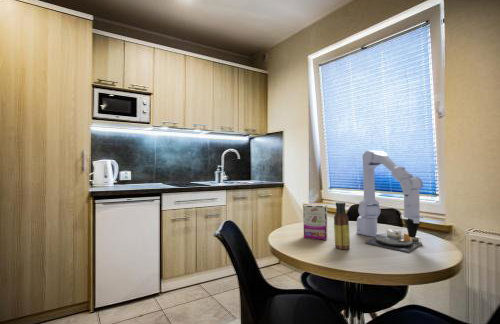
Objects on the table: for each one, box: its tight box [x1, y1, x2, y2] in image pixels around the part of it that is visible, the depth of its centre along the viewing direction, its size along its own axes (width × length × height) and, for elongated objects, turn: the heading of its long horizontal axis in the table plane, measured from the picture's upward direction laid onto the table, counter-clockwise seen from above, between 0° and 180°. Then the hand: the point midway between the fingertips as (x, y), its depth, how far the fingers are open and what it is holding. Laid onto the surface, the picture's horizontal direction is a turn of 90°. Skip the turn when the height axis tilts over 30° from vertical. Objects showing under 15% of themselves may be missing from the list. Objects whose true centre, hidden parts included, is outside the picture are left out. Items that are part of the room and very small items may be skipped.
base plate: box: [365, 235, 423, 254], centre depth 123 cm, size 18×18×3 cm
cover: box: [386, 228, 402, 239], centre depth 123 cm, size 6×6×3 cm
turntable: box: [375, 232, 413, 246], centre depth 123 cm, size 15×15×5 cm
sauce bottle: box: [333, 201, 351, 250], centre depth 117 cm, size 6×6×20 cm
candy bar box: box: [302, 204, 328, 241], centre depth 133 cm, size 11×5×16 cm, turn 68°
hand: (412, 236), depth 115 cm, fingers closed
